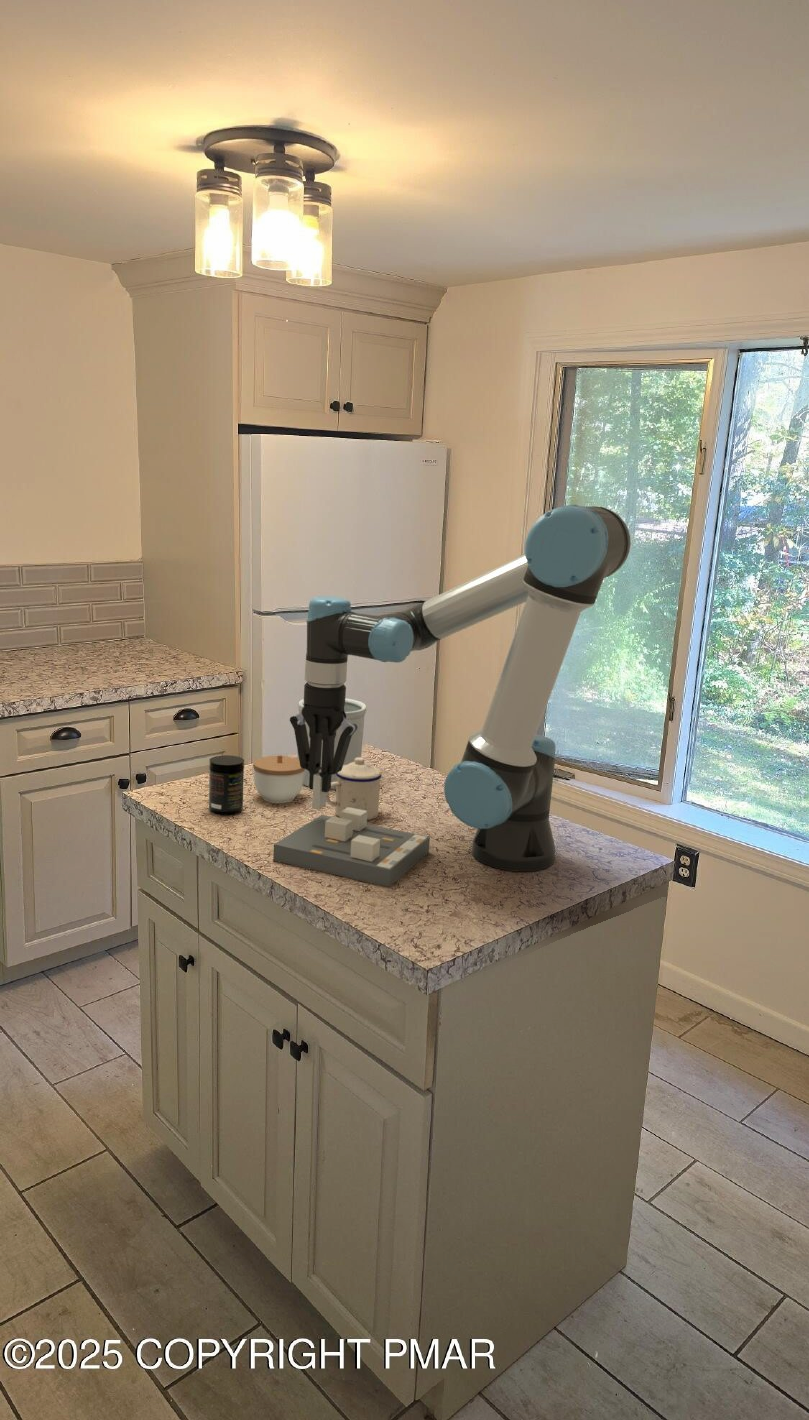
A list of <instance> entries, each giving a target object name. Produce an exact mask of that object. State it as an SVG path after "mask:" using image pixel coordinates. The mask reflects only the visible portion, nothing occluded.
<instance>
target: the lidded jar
mask: <svg viewBox="0 0 809 1420" xmlns="http://www.w3.org/2000/svg"><path fill="white" fill-rule="evenodd" d="M252 765H253V766H252V768H253V782H254V787H255V789H256V791H257V793H258V794H259V795H260V796H261V798H263V800H264V802H267V803H271V804H277V805H278V804H289V803H291V802H292V801H294V799H295V798H296V797H297V796H298V795H299V794H300V792H301V791H302V789H303V786H304V785H303V783H304V778H305V768H304V769H303V768H301V766H300V761H299V759H297V757H295V756H294V757H293V756H287V755H286V756H285V755H282V754H277V755H274V756H273V755H270V756H269V755H268V756H263V757H260V758H257V759H255V760H254V761H253V764H252Z"/></svg>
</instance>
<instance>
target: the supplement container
mask: <svg viewBox="0 0 809 1420" xmlns="http://www.w3.org/2000/svg"><path fill="white" fill-rule="evenodd" d="M208 763H209V764H208V769H209V771H208V775H209V776H208V778H209V779H208V781H209V782H208V809H209V811H210V813H212V814H214V815H219V816H233V815H237V814H240V813H241V812H242V810H243V808H244V778H245V775H244V774H245V759H244V758H243V757H240V756H236V755H230V754H227V755H224V754H223V755H216V756H212V757H210V758H209V762H208Z"/></svg>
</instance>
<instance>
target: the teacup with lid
mask: <svg viewBox="0 0 809 1420" xmlns="http://www.w3.org/2000/svg"><path fill="white" fill-rule="evenodd" d="M365 760H366V759H365V758H363V757H362V756H361V757H357V758H355V760H354V762H352V763H349V764H348V765H343V767H342V770H341V771H340V772H338V773H336V775H337V782H331V788H332V787H334V786H336V789H335V790H336V791H335V801H331V799H330V791H328V792H327V793H326V804H328V805H330V807H335V809H334V813H335V814H336V817H339V818H340V813H341V811H342V810H344V809H346V808H347V807H350V808H355V809H360V810H365V811H367V821H370V820H373V819H376V818H377V817H378V816H379V809H380V808H379V807H380V804H379V803H380V788H381V784H380V783H381V778H382V771H381V770H380V769H379V768H378V767H375V766H372V765H370V764H369V762H368V763H367V762H366V761H365Z"/></svg>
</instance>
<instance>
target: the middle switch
mask: <svg viewBox="0 0 809 1420" xmlns="http://www.w3.org/2000/svg"><path fill="white" fill-rule="evenodd" d="M330 817H331V818H330V819H328V820H327V821H325V837H326V838H331V839H336V840H340V841H346V840H348V839H349V838H351V837H352V833H353V820H348V819H344V818H340V817H339V816H330Z"/></svg>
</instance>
